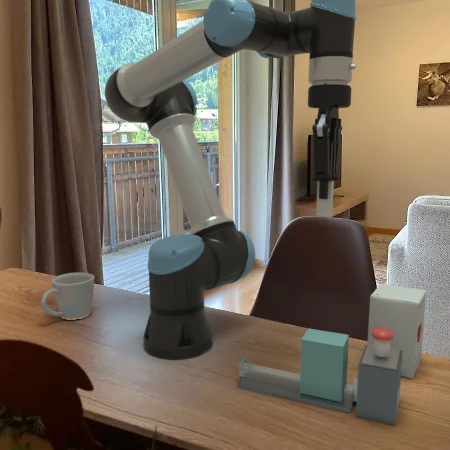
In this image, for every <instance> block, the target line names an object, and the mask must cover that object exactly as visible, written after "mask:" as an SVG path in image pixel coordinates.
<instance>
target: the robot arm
mask: <svg viewBox="0 0 450 450" xmlns="http://www.w3.org/2000/svg"><path fill="white" fill-rule="evenodd" d="M309 6H310V7H307V8H304V9H300V10H299V9H298V10H294V11H284V10H279V9H277V8H273V7H270V6H267V5H263V4H260V3H257V2H254V1H251V0H211V1H210V2H209V5H208V7H206V8H205V11H204V14H203V20H201V21H200V22H198V23H196V24H195V25H193V26H192V27H191V28H189V29H188V30H186V31H184V32H183V33H181V34H180V35H178V36H176V37H175V38H173V39H172V40H170V41H168V42H167V43H165V44H164V45H162V46H161V47H159V48H158V49H156V50H154V51H153V52H151V53H149V54H147V56H144V57H143V58H142V59H140V60H138V61H137V62H135V63H134V62H128V63H124V64H123V65H121V66H120V67H119V68H117V69H116V70H115V71H113V72H112V73H111V74H110V76H109V77H108V79H107V81H106V82H105V86H104V97H105V101H106V104H107V106H108V108H109V110H110V111H111V112H112V113H113V114H114V115H115V116H116V117H118V118H119V119H121V120H123V121H125V122H128V123H141V124H146V126H147V128H148V131H149V134H150V136H151V137H153V138H155V139H157V140H159V144H160V146H161V149H162V152H163V154H164V158H165V160H166V162H167V165H168V166H167V167H169V171H170V174H171V176H172V179H173V182H174V185H175V188H176V190H177V193H178V197H179V199H180V201H181V204H182V207H183V210H184V212H185V215H186V219H187V221H188V223H189V226H190V231H189V233H188V234H186V233H183V234H179V235H176V234H175V235H169V236H166V237H163V238H160V239H159V240H156V241H155V242H153V243H152V245H150V247H149V249H148V260H147V269H148V283H149V285H148V286H149V307H150V308H149V310H150V312H149V316H148V319H147V322H146V324H145V325H146V327H145V330H144V333H143V349H144V351H145V352H146V353H148V354H149V355H151V356H153V357H156V358H159V359H167V360H183V359H188V358H189V359H190V358H193V357H194V358H195V357H197V356H200V355H202V354H204V353H206V352H207V351H209V350H210V349H211V348H212V347H213V344H214V338H213V337H214V335H213V329H212V327H211V325H210V321H209V319H208V315H207V313H206V310H205V292H206V291H210V290H214V289H216V288H219V287H220V288H221V287H222V286H225V285H228V284H234V283H236V282H238V281H240V280H242V279H243V278H246V277H247V276H248V275H249V274H250V273H251V271H252V270H253V265H254V264H255V261H256V250H255V246H254V242H253V241H252V239H251V237H250V236H249V234H246V233H245V232H244V231H242V230H238V228H237V226H236V224H235V221H234V220H233V219H232V218H230V217H227V216H226V215H225V212H224V211H223V209H224V208H223V207H222V205H221V202H220V199H219V197H218V194H217V191H216V188H215V186H214V183H213V180H212V178H211V175H210V172H209V170H208V167H207V165H206V162H205V159H204V157H203V154H202V152H201V149H200V148H201V147H200V145H199V143H198V139H197V138H196V135H195V132H194V129H193V125H194V124H195V121H196V118H195V116H196V114H197V110H198V107H197V106H196V105H198V97H197V93H196V91H195V89H194V86H192V84H191V83H190V82H189V81H188V80H187V79H189V78H191V77H193V76H194V75H196V74H198V73H200V72H202V71H204V70H207V69H208V68H211V66H213V65H215V64H216V63H218V62H221V61H223V60H225V59H226V58H228V57H230V56H232V55H234V54H237V53H239V52H240V51H243V50H248V51H253V52H254V51H255V52H256V53H257V54H258V55H259V56H260V57H262V58H264V59H281V58H285V57H290V56H298V55H304V54H308V55H309V60H308V83H309V84H311V86H309V88H308V90H307V106H308V107H309V108H310V109H318V110H317V117H316V118H315V120H314V124H312V126H311V130H312V136H313V137H312V138H313V163H314V166H313V167H314V173H313V174H314V175H313V177H312V181H313V182H317V183H316V185H317V186H316V188H317V189H316V205H315V206H316V208H315V209H316V210H315V211H316V212H315V216H316V217H325V218H326V217H328V218H331V217H333V207H334V206H333V205H334V187H335V186H334V185H335V181H339V178H340V177H339V176H337V175H338V164H339V163H338V162H339V152H340V144H341V143H340V142H341V137H342V136H341V135H342V131H343V126H342V118H340V114H339V113H340V112H339V109H346V108H349V107H350V106H351V104H352V103H351V102H352V87H351V85H349V84H350V83H351V82H352V81H353V80H352V79H353V78H352V76H353V72H352V71H353V70H356V68H357V66H356V64H355V63H353V60H354V59H353V58H354V53H353V52H354V43H355V42H354V39H355V28H356V27H355V25H356V19H357V16H356V0H311V1H310V3H309Z"/></svg>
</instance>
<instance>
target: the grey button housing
mask: <svg viewBox="0 0 450 450" xmlns="http://www.w3.org/2000/svg"><path fill="white" fill-rule="evenodd" d="M402 355H403V351H401V350H399V349H393V348H390V352H389V356H387V357H380V356H377V355H375V354H374V345H369V344H368V345H367V344H365V346H364V348H363V352H362V354H361V357H360V359H359V361H358V365H357V366H358V368H357V369H358V370H357V378H358V385H357V402H356V406H355V407H356V411H355V416H356V417H357V418H360V419H365V420H370V421H373V422H378V423H383V424H387V425H392V426H396V423H397V419H398V418H397V417H398V412H399V407H400V400H401V399H400V398H401V383H402V376H401V370H402ZM356 417H355V418H356Z"/></svg>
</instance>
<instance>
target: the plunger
mask: <svg viewBox="0 0 450 450" xmlns="http://www.w3.org/2000/svg"><path fill="white" fill-rule="evenodd" d="M372 337H373V338H375V340H374V354H375V355H377V356H380V357H387V356H389V352H390V340H392V339H393V338H394V332H393V331H392V330H391V329H388V328H383V327H376V328H373V329H372Z"/></svg>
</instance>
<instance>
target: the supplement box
mask: <svg viewBox="0 0 450 450" xmlns="http://www.w3.org/2000/svg"><path fill="white" fill-rule="evenodd" d="M369 296H370V297H369V314H368V326H367V327H368V328H367V329H368V331H367V344H366V345H368V344H369V345H374V340H375V338H373V337H372V329H373V328H376V327H383V328H388V329H391V330H392V331H393V332H394V338H393V339H392V340H390V348H393V349H399V350H401V351H403V355H402V370H401V377H403V378H408V379H411V380H412V379H414V377H415V375H416V373H417V371H418V368H419V366H420V364H421V361H422V351H423V338H424V337H423V336H424V326H425V325H424V324H425V311H426V310H425V309H426V301H427V299H426V298H427V297H426V296H427V290H426V289H420V288H414V287H413V288H412V287H405V286H399V285H394V284H389V283H387V284H385V283H381V284H380V285H379V286H378V287H377V288H375V289H374V291H373V292H372V293H371V295H369Z"/></svg>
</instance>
